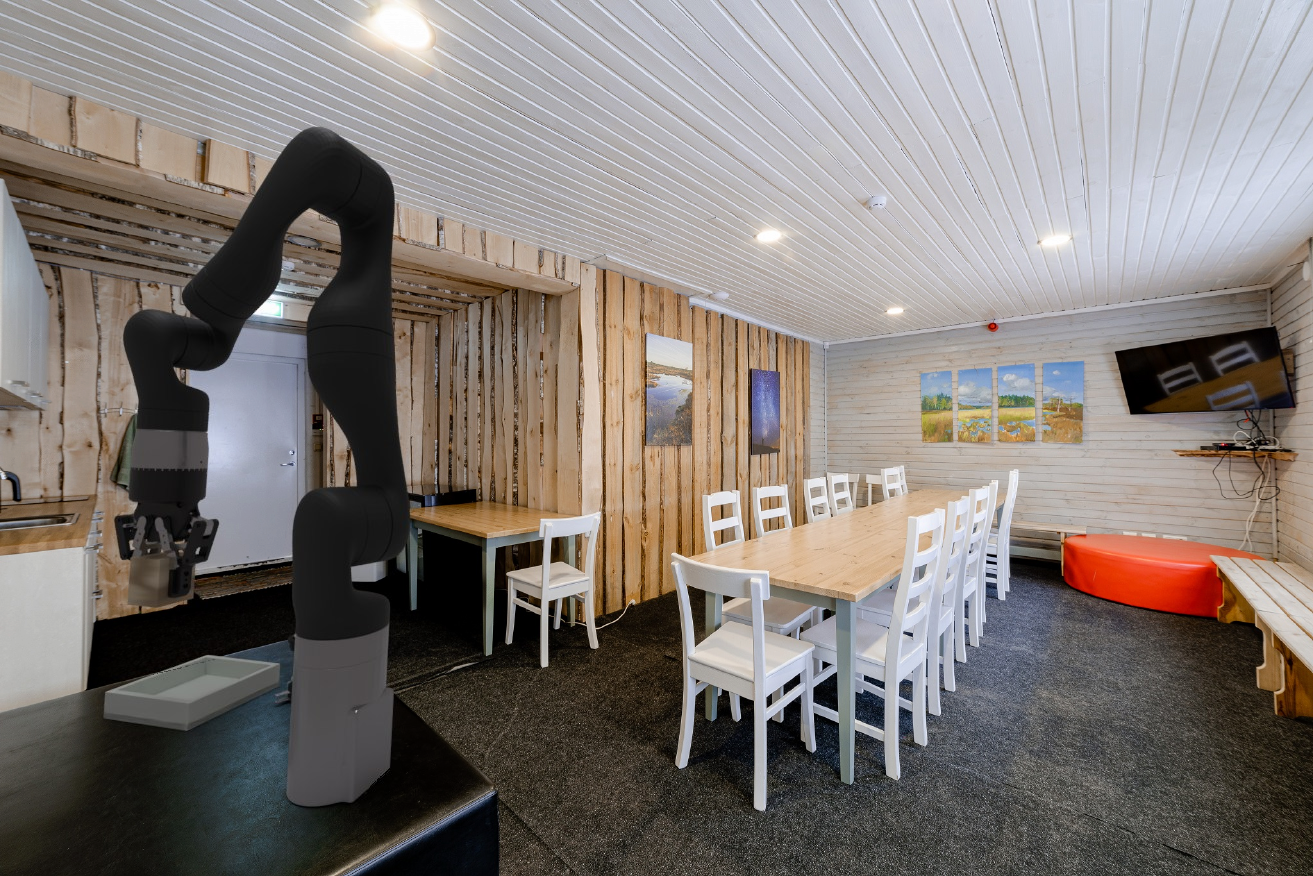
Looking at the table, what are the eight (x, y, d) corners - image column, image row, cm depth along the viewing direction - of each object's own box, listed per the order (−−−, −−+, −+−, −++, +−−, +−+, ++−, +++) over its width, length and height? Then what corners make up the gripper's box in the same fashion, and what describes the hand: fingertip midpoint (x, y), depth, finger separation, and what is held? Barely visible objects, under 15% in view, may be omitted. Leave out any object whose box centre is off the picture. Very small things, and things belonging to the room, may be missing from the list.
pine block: (193, 598, 71) (196, 553, 71) (156, 607, 66) (160, 560, 67) (165, 595, 72) (168, 551, 72) (127, 604, 67) (130, 557, 67)
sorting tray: (278, 686, 82) (280, 663, 82) (187, 730, 69) (189, 703, 69) (205, 677, 84) (207, 654, 84) (103, 718, 71) (105, 691, 71)
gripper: (243, 466, 72) (235, 592, 72) (156, 462, 74) (147, 584, 74) (187, 468, 65) (177, 607, 64) (92, 462, 67) (81, 598, 66)
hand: (161, 594), depth 69 cm, fingers closed on pine block, 4 cm apart
